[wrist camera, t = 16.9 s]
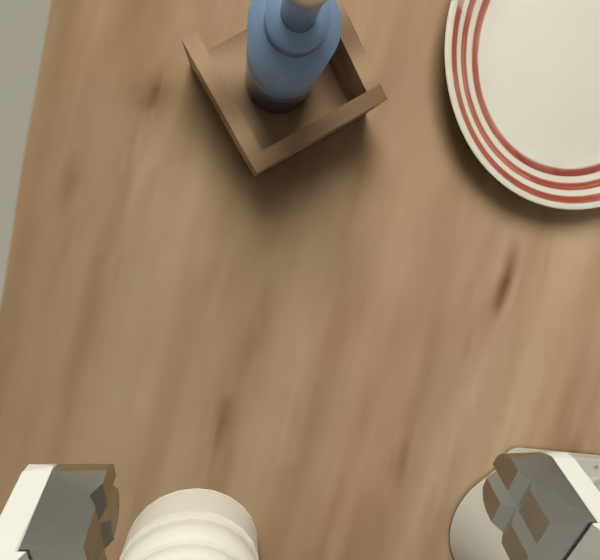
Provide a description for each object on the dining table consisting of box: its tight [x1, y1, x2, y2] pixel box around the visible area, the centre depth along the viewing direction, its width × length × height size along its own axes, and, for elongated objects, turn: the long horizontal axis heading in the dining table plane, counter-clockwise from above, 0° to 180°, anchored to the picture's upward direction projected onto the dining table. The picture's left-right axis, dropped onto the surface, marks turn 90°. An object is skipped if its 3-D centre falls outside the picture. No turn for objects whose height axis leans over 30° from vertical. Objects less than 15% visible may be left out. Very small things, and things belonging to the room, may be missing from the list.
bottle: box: [245, 0, 342, 114], centre depth 28 cm, size 5×5×18 cm
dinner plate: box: [444, 0, 600, 210], centre depth 40 cm, size 27×27×3 cm
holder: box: [181, 0, 387, 177], centre depth 35 cm, size 10×11×6 cm
